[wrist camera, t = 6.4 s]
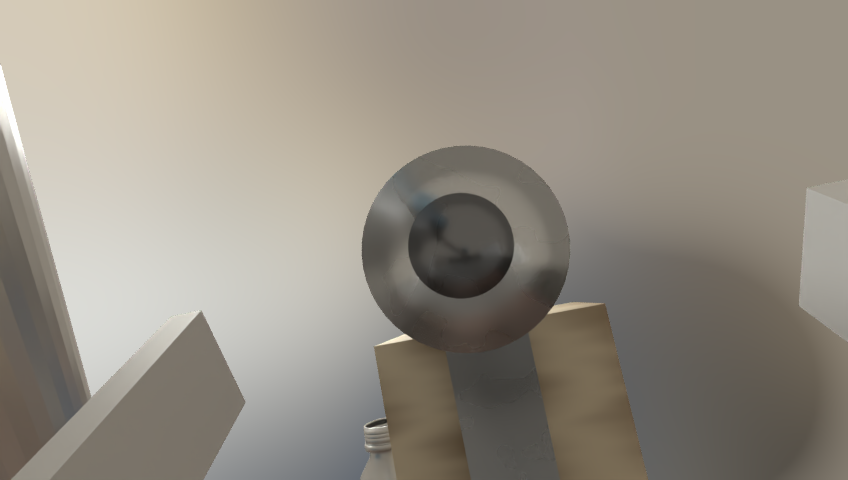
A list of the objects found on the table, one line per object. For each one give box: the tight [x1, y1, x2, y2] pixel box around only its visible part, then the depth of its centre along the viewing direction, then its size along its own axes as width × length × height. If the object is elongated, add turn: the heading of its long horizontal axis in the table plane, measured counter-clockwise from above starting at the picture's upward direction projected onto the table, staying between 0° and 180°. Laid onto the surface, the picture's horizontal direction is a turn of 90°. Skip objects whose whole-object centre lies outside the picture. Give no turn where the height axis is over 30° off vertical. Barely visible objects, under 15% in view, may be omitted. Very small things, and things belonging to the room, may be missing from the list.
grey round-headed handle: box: [362, 146, 570, 480], centre depth 17 cm, size 6×16×9 cm
